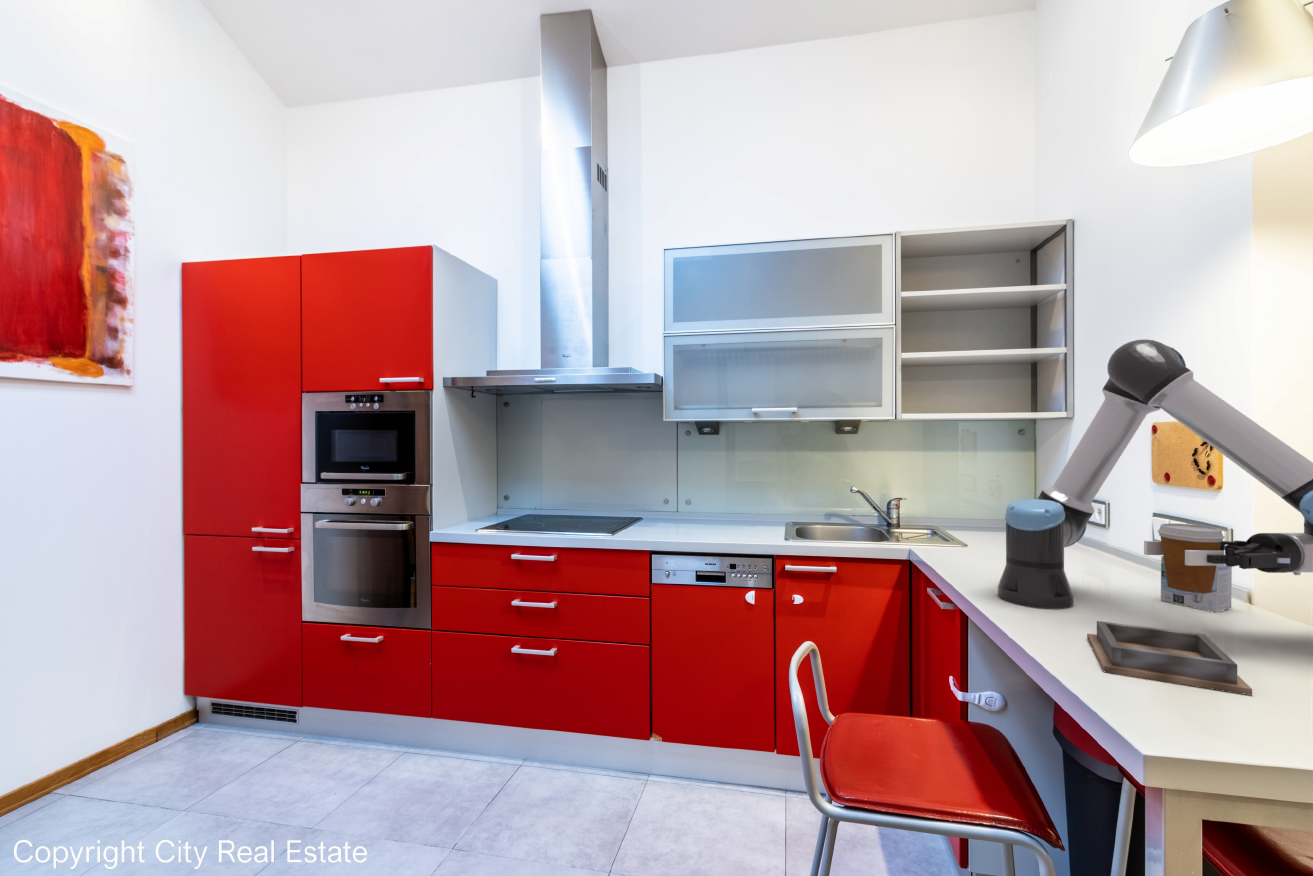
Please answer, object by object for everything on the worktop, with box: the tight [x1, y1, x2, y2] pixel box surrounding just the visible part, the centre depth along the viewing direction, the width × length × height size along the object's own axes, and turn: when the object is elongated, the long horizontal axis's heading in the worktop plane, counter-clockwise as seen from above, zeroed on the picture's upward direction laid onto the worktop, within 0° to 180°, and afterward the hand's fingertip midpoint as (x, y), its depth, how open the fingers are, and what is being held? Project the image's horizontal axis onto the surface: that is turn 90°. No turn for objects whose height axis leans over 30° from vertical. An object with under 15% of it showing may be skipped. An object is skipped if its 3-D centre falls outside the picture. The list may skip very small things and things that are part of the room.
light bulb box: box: [1160, 555, 1233, 613], centre depth 133 cm, size 11×7×11 cm, turn 25°
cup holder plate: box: [1086, 620, 1253, 696], centre depth 100 cm, size 18×18×4 cm
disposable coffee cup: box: [1157, 523, 1226, 593], centre depth 111 cm, size 10×10×12 cm
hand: (1165, 552), depth 111 cm, fingers closed on disposable coffee cup, 8 cm apart
